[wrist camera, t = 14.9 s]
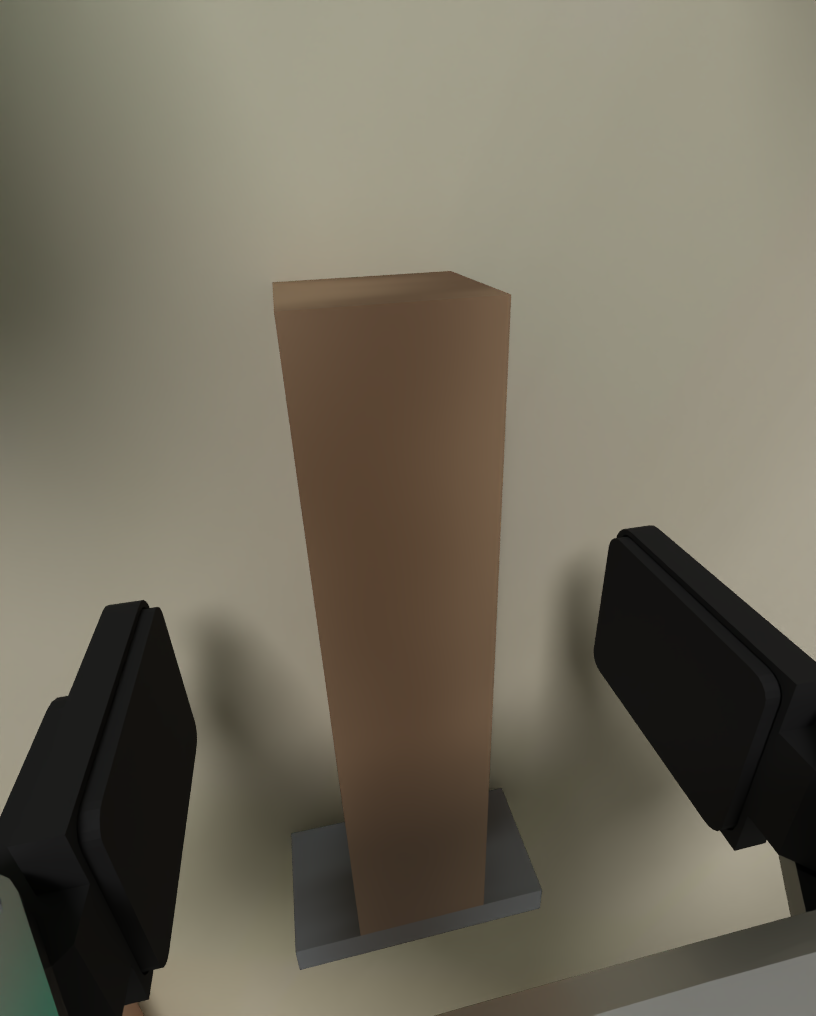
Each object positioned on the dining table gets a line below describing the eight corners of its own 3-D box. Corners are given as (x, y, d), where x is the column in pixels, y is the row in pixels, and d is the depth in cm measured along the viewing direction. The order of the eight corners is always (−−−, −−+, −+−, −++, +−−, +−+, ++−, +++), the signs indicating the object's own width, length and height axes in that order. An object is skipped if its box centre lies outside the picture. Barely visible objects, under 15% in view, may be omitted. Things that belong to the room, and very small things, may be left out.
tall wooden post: (530, 264, 10) (618, 286, 8) (499, 802, 17) (539, 908, 15) (177, 287, 9) (142, 321, 7) (294, 847, 16) (300, 970, 14)
